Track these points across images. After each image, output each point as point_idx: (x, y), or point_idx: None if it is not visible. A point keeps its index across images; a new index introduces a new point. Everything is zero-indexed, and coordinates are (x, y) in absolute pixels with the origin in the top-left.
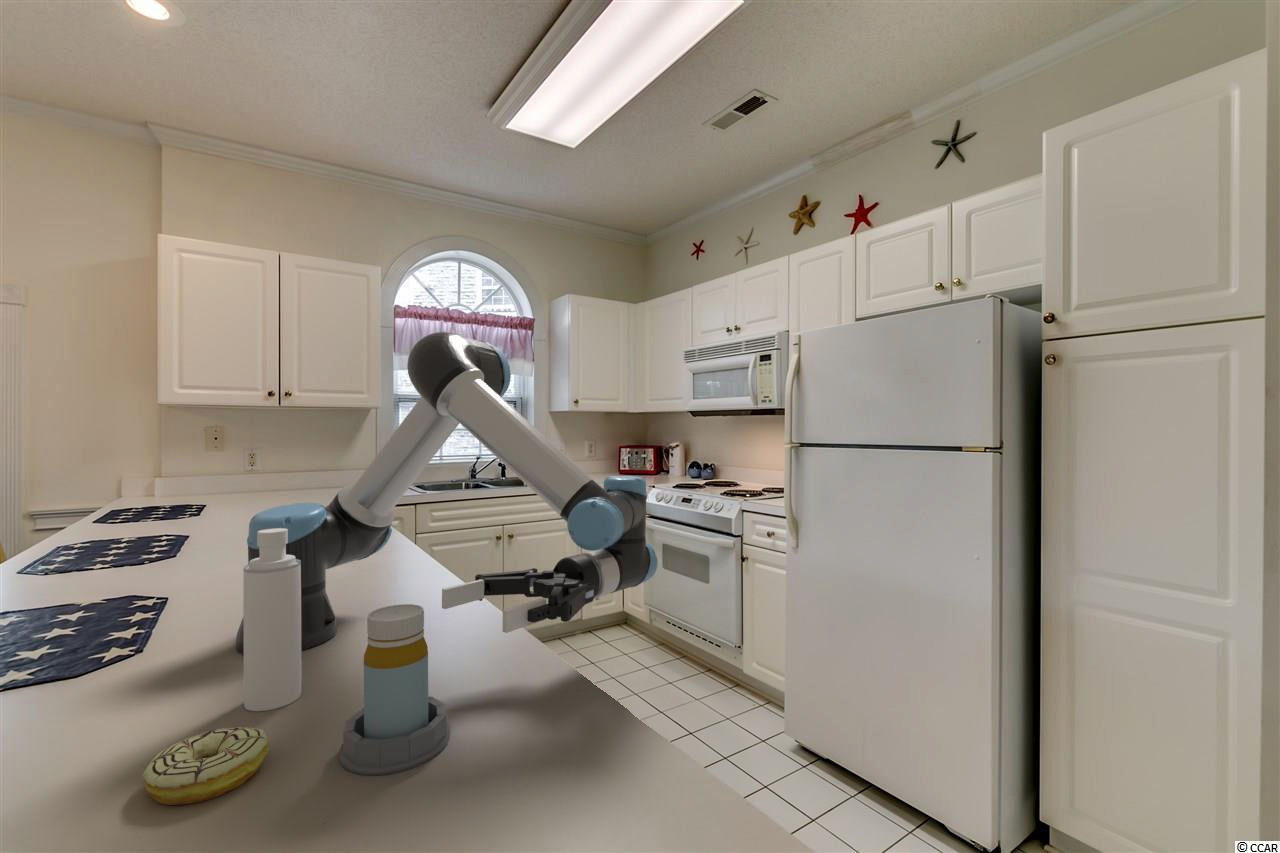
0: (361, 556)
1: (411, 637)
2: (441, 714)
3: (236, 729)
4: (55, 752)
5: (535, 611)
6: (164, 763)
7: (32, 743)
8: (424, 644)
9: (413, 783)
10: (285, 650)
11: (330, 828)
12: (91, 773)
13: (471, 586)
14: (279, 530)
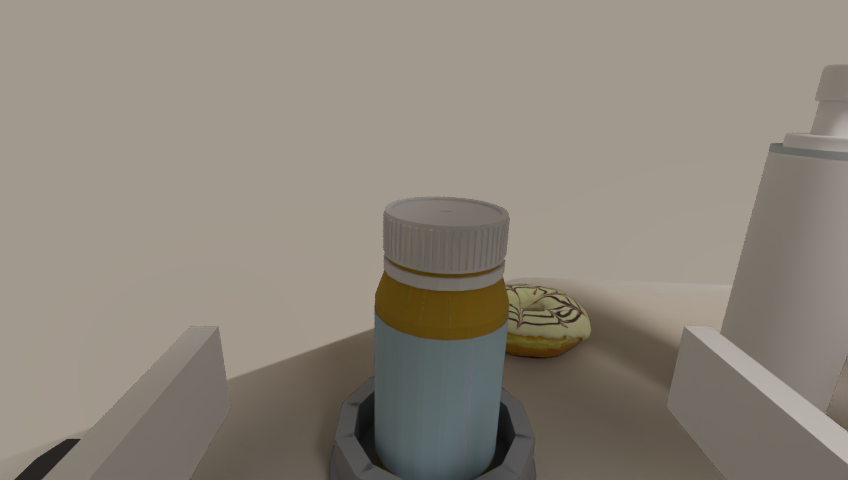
0: None
1: (387, 257)
2: (368, 471)
3: (556, 314)
4: (673, 293)
5: (45, 454)
6: (521, 285)
7: (705, 289)
8: (395, 301)
9: (301, 430)
10: (744, 319)
11: (323, 358)
12: (606, 299)
13: (816, 461)
14: None
